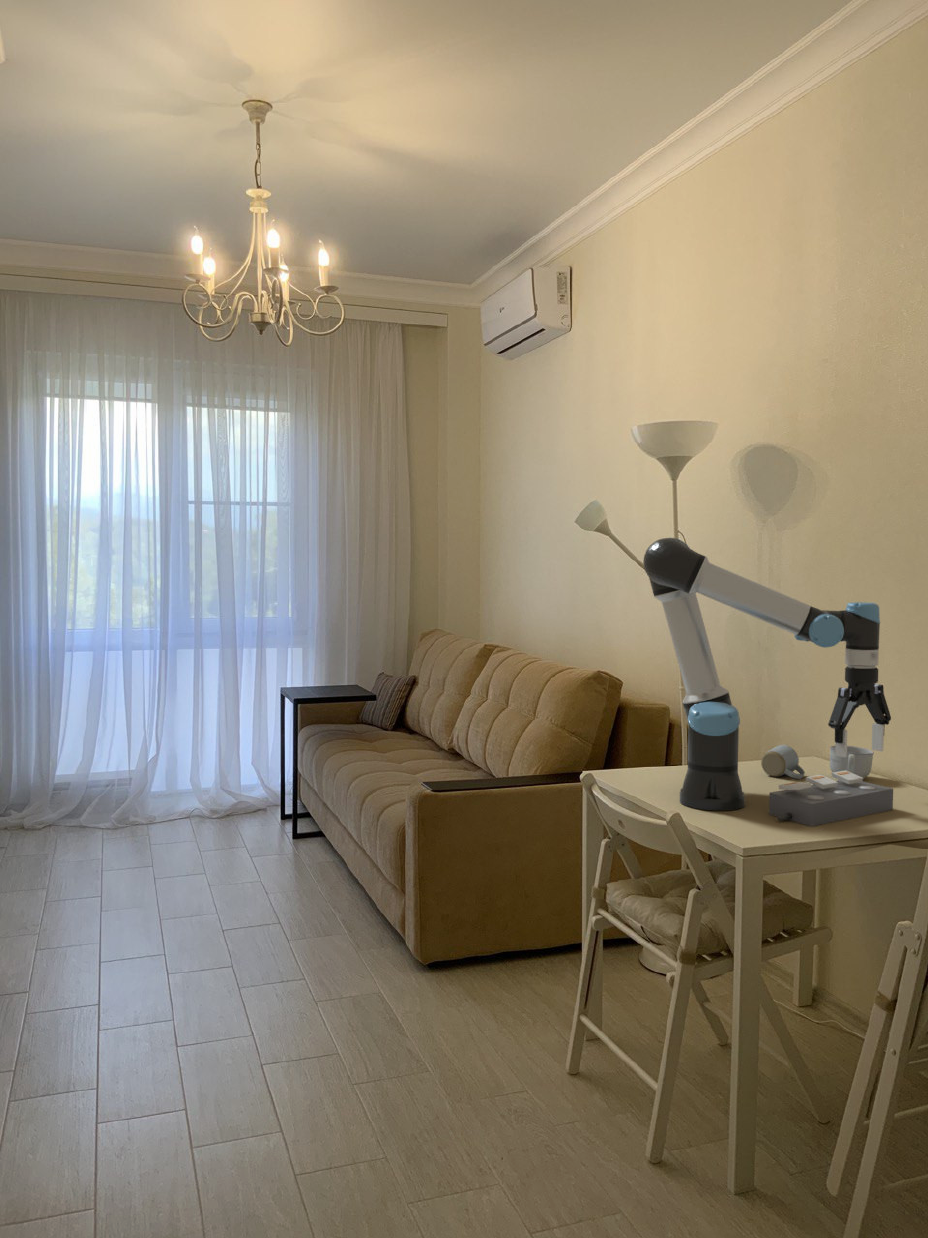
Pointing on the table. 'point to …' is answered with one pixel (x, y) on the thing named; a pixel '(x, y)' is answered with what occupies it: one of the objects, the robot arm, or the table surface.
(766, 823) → the table surface
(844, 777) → the rocker
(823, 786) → the rocker
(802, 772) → the ceramic mug
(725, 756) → the robot arm
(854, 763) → the teacup
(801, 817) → the power strip
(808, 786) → the rocker
